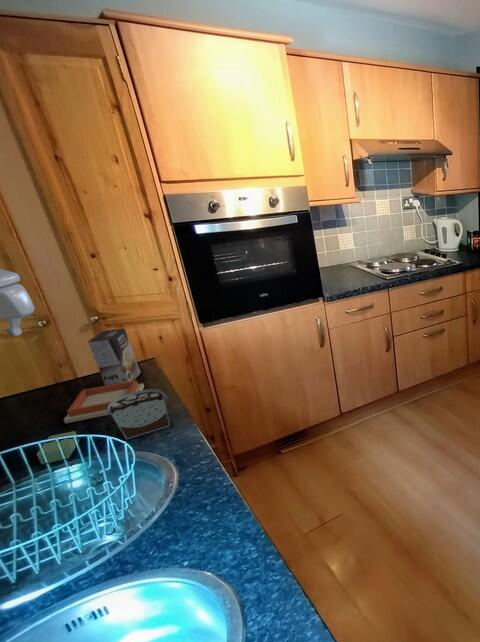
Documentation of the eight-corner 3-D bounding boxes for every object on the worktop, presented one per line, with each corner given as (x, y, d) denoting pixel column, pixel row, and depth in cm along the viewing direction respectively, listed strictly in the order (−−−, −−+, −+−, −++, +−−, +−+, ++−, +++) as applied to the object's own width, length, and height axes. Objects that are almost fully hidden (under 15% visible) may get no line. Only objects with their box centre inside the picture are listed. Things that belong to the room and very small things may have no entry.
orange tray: (65, 423, 123) (60, 414, 122) (82, 397, 135) (79, 389, 134) (133, 409, 129) (129, 400, 128) (144, 386, 141) (141, 378, 140)
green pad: (41, 464, 107) (36, 454, 106) (54, 446, 114) (49, 436, 113) (68, 458, 109) (64, 448, 108) (79, 440, 116) (75, 430, 115)
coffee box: (131, 385, 142) (113, 339, 135) (106, 389, 140) (86, 342, 133) (141, 372, 150) (124, 328, 143) (117, 375, 148) (100, 330, 141)
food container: (174, 414, 127) (163, 383, 123) (176, 424, 123) (165, 392, 119) (118, 430, 120) (104, 398, 116) (118, 441, 115) (104, 408, 111)
